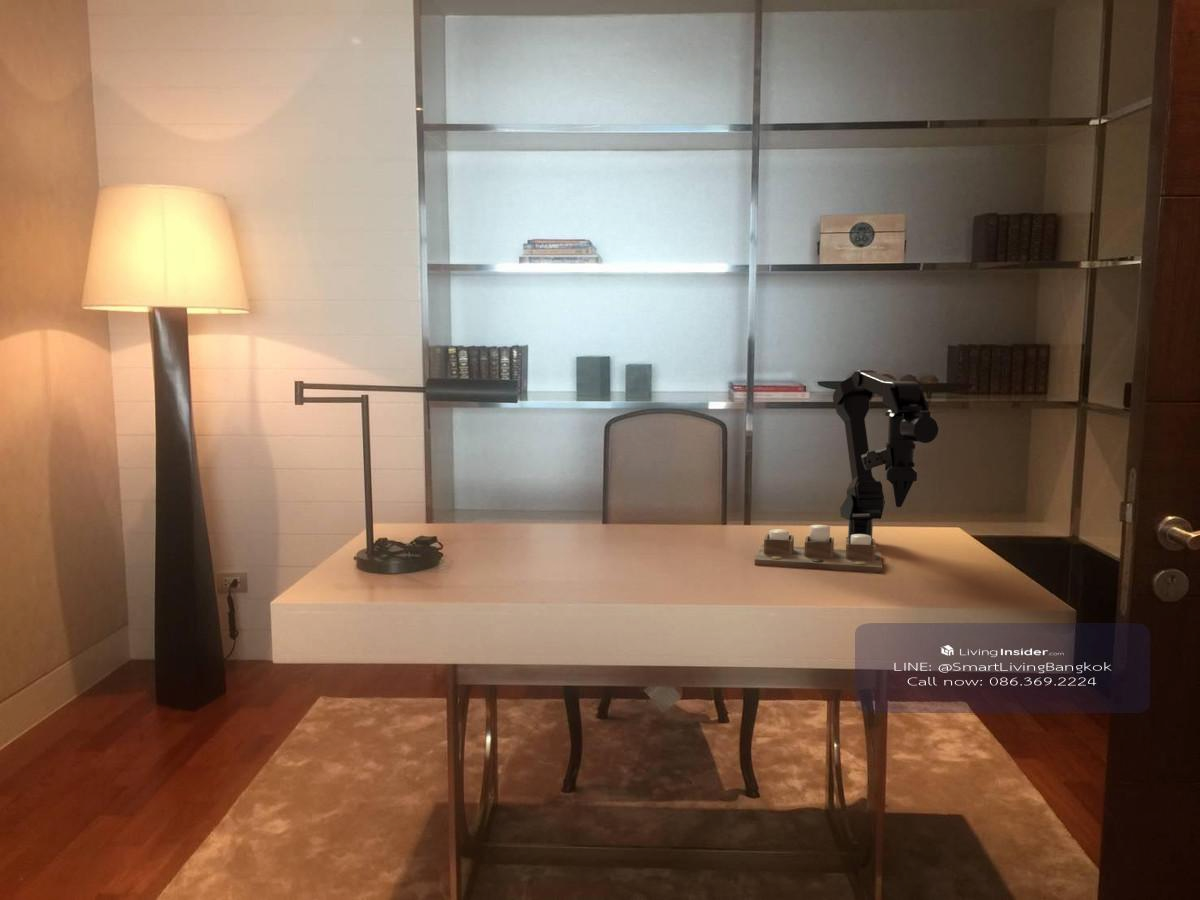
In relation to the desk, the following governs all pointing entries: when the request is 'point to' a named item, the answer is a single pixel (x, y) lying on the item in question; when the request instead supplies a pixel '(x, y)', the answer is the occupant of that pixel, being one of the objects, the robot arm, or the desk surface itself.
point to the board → (819, 555)
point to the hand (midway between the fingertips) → (898, 506)
